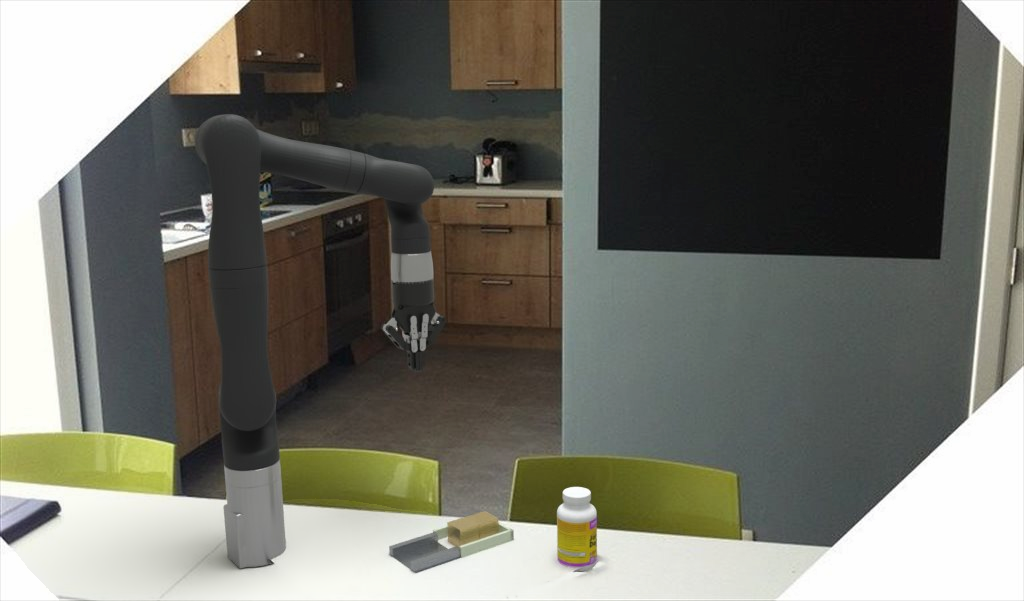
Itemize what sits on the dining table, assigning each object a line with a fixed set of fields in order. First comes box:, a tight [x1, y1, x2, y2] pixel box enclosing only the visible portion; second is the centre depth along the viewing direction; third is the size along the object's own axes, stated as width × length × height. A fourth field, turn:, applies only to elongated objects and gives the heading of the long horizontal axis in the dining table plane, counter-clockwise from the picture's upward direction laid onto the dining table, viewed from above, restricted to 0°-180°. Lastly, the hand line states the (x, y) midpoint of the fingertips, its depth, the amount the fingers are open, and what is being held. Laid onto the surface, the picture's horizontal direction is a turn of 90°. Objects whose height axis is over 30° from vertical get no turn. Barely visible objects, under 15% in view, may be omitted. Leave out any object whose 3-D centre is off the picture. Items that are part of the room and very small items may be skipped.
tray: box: [432, 521, 515, 558], centre depth 167 cm, size 11×9×3 cm
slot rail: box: [388, 531, 463, 574], centre depth 161 cm, size 9×9×2 cm
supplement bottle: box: [556, 486, 598, 573], centre depth 158 cm, size 7×7×13 cm
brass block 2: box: [467, 510, 499, 539], centre depth 168 cm, size 4×4×4 cm
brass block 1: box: [446, 516, 480, 547], centre depth 166 cm, size 4×4×4 cm
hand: (416, 370), depth 173 cm, fingers closed
